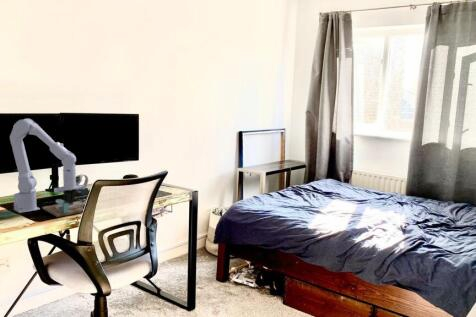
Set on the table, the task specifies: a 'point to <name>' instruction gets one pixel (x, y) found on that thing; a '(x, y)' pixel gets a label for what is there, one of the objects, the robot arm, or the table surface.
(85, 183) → the watch
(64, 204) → the block
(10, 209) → the table surface
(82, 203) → the latch bar
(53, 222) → the table surface
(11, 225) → the table surface
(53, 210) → the board
